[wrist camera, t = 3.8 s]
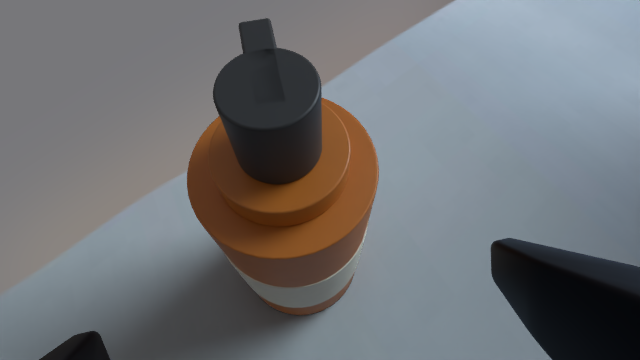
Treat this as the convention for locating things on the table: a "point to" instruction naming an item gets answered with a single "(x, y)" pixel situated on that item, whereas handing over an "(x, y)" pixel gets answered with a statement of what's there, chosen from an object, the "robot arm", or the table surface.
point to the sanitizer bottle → (283, 177)
